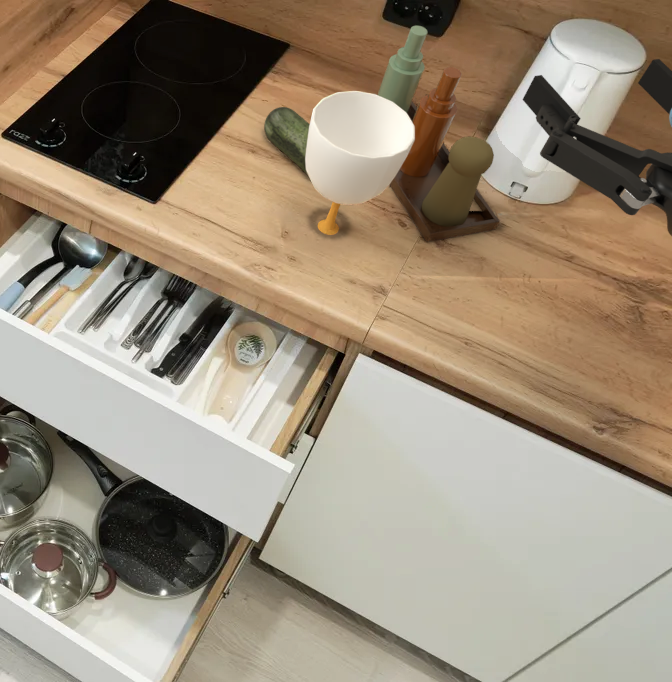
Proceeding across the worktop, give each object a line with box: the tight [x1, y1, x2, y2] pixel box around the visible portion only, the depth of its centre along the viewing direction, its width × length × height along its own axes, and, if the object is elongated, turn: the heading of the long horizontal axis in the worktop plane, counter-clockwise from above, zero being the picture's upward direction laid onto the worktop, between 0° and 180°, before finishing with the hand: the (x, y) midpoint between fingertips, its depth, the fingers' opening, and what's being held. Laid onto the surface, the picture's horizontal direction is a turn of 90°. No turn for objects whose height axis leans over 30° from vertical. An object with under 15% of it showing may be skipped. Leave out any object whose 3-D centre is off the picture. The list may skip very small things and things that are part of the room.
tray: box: [389, 100, 501, 243], centre depth 111 cm, size 27×10×2 cm, turn 16°
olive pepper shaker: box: [422, 135, 495, 227], centre depth 102 cm, size 6×6×11 cm
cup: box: [305, 90, 415, 236], centre depth 96 cm, size 12×12×17 cm
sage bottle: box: [376, 25, 428, 113], centre depth 110 cm, size 5×5×15 cm
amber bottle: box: [400, 66, 462, 177], centre depth 105 cm, size 5×5×15 cm
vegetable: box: [263, 106, 310, 176], centre depth 109 cm, size 14×5×5 cm, turn 36°
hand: (590, 78), depth 79 cm, fingers open, 13 cm apart
